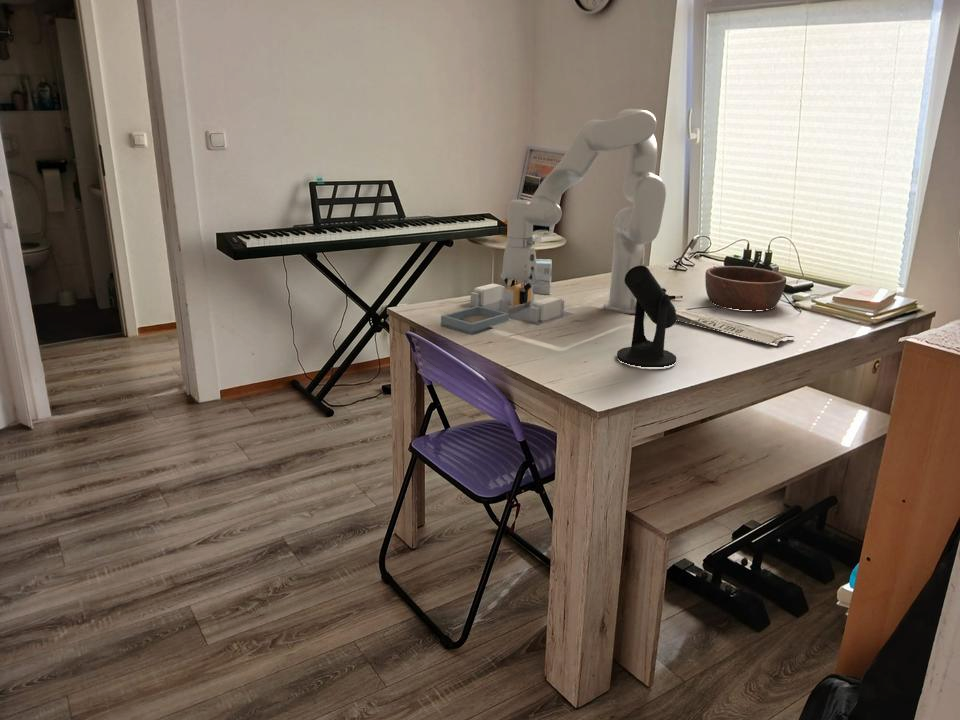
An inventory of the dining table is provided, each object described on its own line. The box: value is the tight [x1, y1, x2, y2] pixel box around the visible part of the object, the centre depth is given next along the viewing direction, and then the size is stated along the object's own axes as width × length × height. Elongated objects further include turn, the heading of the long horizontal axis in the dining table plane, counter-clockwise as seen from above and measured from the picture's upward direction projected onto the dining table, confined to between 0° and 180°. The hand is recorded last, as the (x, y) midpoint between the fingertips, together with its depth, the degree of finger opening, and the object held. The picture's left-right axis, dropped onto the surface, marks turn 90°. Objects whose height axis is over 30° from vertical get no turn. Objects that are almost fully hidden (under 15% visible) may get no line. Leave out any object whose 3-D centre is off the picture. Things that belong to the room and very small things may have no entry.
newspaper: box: [675, 308, 795, 345], centre depth 224 cm, size 35×12×4 cm, turn 44°
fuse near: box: [533, 296, 563, 321], centre depth 228 cm, size 4×10×5 cm, turn 139°
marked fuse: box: [504, 283, 533, 306], centre depth 234 cm, size 4×10×5 cm, turn 139°
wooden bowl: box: [704, 265, 787, 311], centre depth 251 cm, size 25×25×10 cm
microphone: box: [616, 265, 677, 367], centre depth 193 cm, size 15×17×25 cm
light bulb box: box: [518, 258, 553, 295], centre depth 259 cm, size 11×7×11 cm, turn 84°
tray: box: [440, 306, 510, 336], centre depth 222 cm, size 12×16×3 cm
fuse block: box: [460, 285, 574, 326], centre depth 235 cm, size 30×18×5 cm, turn 49°
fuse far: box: [473, 283, 503, 306], centre depth 242 cm, size 4×10×5 cm, turn 139°
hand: (517, 301), depth 235 cm, fingers closed on marked fuse, 3 cm apart
